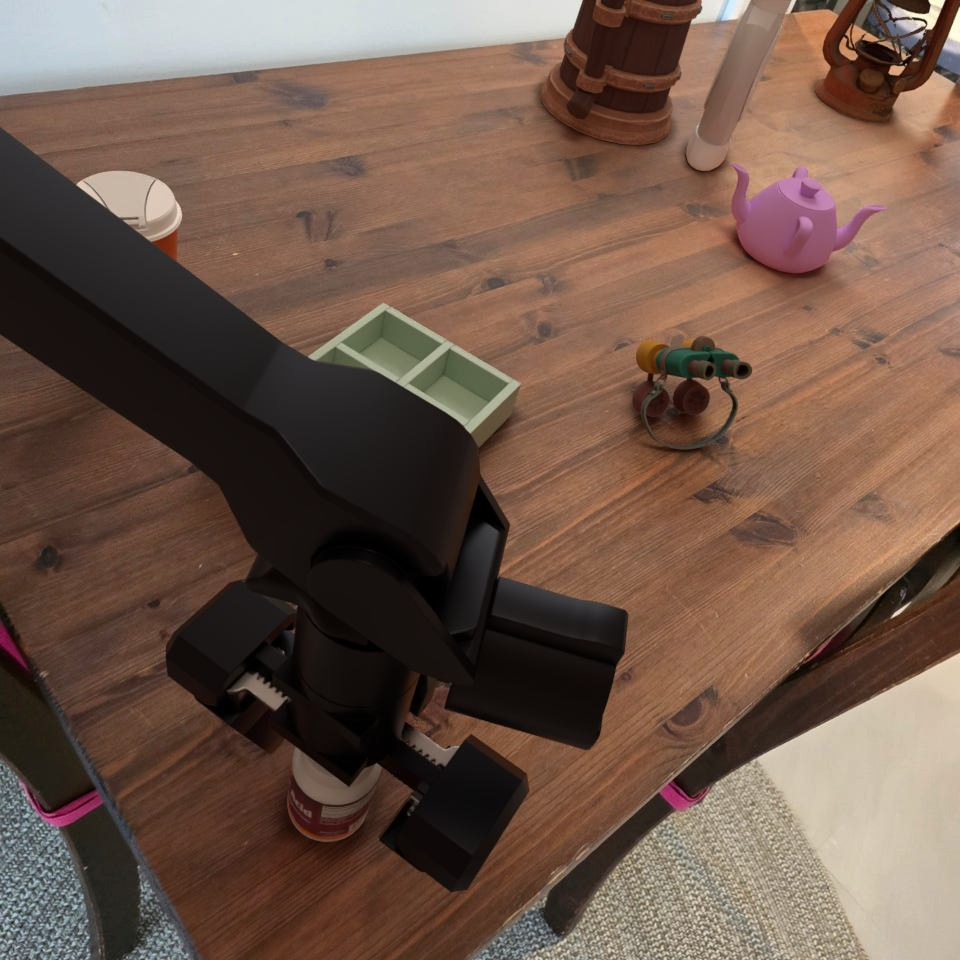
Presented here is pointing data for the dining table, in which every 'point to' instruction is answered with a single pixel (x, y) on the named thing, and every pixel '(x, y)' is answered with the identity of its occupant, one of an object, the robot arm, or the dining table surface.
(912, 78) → the lantern
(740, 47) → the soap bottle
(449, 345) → the divided tray
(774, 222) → the teapot
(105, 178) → the paper cup
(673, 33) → the mug
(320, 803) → the pill bottle
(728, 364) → the binoculars
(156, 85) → the dining table surface
